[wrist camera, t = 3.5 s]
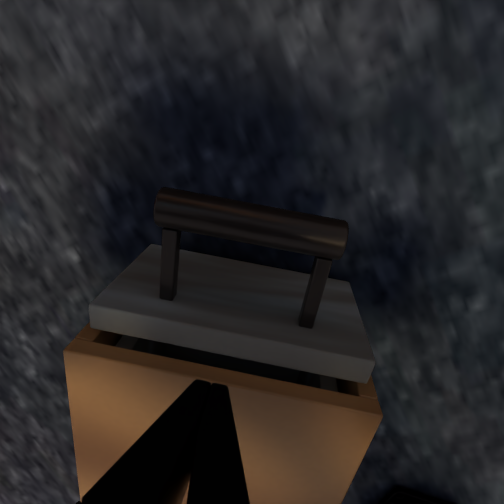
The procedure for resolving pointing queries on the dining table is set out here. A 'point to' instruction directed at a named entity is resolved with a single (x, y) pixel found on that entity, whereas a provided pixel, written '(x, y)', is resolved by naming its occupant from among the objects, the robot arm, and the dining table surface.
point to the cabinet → (244, 411)
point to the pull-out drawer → (240, 296)
